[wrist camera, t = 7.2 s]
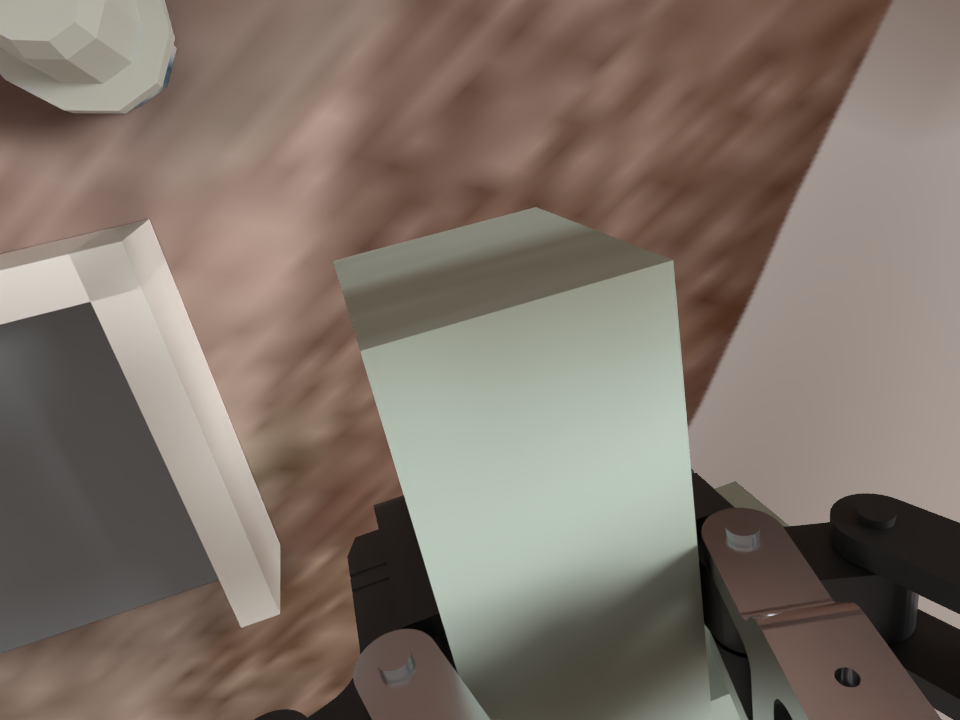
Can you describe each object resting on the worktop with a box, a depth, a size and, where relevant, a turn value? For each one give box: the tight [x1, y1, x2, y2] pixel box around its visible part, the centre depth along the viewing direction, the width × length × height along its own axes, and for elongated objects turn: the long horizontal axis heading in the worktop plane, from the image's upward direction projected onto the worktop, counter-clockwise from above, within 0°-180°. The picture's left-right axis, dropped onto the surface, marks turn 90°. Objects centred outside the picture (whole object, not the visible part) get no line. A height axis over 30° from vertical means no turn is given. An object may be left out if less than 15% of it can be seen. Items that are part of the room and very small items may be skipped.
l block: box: [333, 207, 789, 720], centre depth 13 cm, size 12×8×5 cm, turn 12°
